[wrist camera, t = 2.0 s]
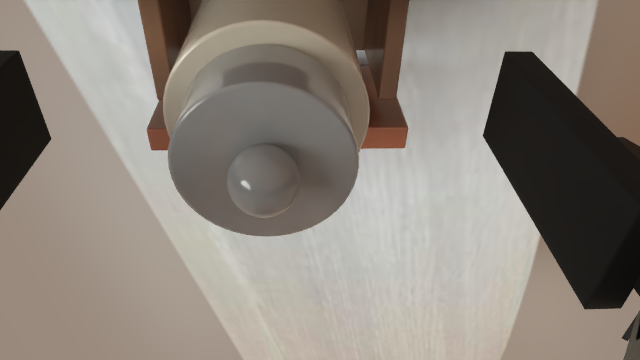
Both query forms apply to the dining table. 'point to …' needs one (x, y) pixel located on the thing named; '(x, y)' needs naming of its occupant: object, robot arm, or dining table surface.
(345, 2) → the drawer
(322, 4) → the pepper mill
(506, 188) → the dining table surface
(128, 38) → the dining table surface
